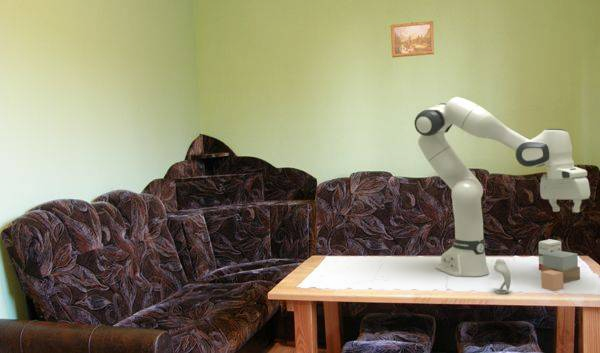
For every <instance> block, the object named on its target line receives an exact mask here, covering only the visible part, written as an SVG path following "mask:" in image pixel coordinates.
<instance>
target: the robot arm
mask: <svg viewBox="0 0 600 353" xmlns="http://www.w3.org/2000/svg"><path fill="white" fill-rule="evenodd" d="M413 124H414V128H415V130H416V132H417V133H418V134H419V135H420V136H419V138H418V141H417V143H418V146H419V148H420V150H421V152H422V153H423V156H424V157H425V159H426V161H427V162H428V163H429V165H430V166H431V167H432V169H433V170H434V171H435V173H436V174H437V176H438V177H439V178H440V179H441V180H442V181H443V182H444V183H445V184H446V186H448V187H449V189H450V190H451V201H452V211H453V217H454V236H455V237H454V238H453V239H451V240H450V243H452V246H451V247H450V248H449V249H447V250H446V251H445V252H443V254H442V255H441V256H440V263H439V264H437V265H435V269H436V270H439V271H441V272H444V273H445V274H448V275H450V276H454V277H481V276H487V275H488V274H490V271H489V267H488V263H487V258H486V257H487V256H486V252H485V251H486V250H485V248H486V240H485V238H484V219H483V210H482V196H483V194H484V187H483V185H482V184H481V182H480V181H479V179H478V178H477V177H476V176H475V175H474V173H473V172H472V171H471V170H470V169H469V168H468V167H467V166H466V163H464V162H463V160H462V159H461V158H460V157H459V155H458V153H457V152H456V151H455V150H454V149H453V147H452V146H451V145H450V143H449V142H448V140H447V139H446V137H445V133H448V132H449V131H450V129H451V128H452V126H456V127H457V128H459V129H460V130H462V131H464V132H466V133H467V134H469V135H472V136H473V137H477V138H482V139H489V140H492V141H495V142H499V143H501V144H503V145H504V146H506V147H507V148H510V149H511V150H514V151H515V159H516V160H517V162H518V163H519V164H520V165H521V166H523V167H526V168H534V167H535V168H539V167H543V166H545V168H546V173H545V174H542V176H541V177H540V182H539V189H540V190H539V192H540V197H541V199H543V200H548V201H549V204H550V205H551V207H552V212H560V211H561V209H560V206H559V205H558V203H557V200H572V201H573V203H574V204H573V206H571V212H572V213H580V211H581V208H580V207H581V205H582V202H583V201H582V200H588V199H590V196H591V188H590V187H591V186H590V183H589V179H588V178H587V176H588V171H587V170H586V169H584V168H580V167H577V166H575V161H574V159H573V145H572V139H571V137H570V134H569V132H568V131H567V130H566V129H563V128H546V129H544V130H543V131H542V132H541V133H539V134H538V135H536V136H535V137H533V138H531V139H530V138H528V137H525V136H524V135H522V134H520V133H518V132H517V131H515V130H513V129H511V128H509V127H508V126H506V125H505V124H503V123H502V122H501V121H500V120H499V119H498V118H497V117H496V116H495V115H493V114H492V113H490V112H489V111H488V110H487V109H485V108H484V107H483V106H481V105H479V104H477V103H475V102H474V101H472V100H468V99H466V98H463V97H460V96H454V97H452V98H450V99H449V100H448V101H447V102H446V103H442V102H441V103H438V104H435V105H432V106H429V107H428V108H427V109H424V110H422V111H421V112H419V113H418V114H417V115H416V117H415V119H414V123H413Z"/></svg>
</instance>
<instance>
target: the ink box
mask: <svg viewBox="0 0 600 353" xmlns="http://www.w3.org/2000/svg"><path fill="white" fill-rule="evenodd" d="M557 250H558V251H562V241H561V240H556V239H551V238H548V239H545V240H540V241H539V242H538V270H539V271H541V266H543V254H544V253H549V252H553V251H557Z"/></svg>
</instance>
